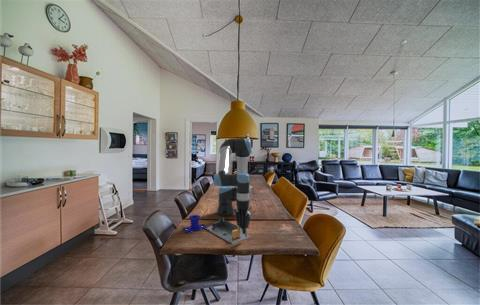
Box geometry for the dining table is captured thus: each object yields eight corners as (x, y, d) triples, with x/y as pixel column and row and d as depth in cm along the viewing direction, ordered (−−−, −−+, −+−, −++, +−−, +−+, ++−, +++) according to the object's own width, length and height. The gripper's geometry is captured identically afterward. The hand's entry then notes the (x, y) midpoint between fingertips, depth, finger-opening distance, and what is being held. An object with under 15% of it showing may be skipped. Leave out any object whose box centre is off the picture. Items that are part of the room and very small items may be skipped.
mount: (202, 225, 153) (202, 213, 152) (206, 229, 146) (206, 216, 146) (182, 229, 145) (182, 217, 145) (185, 233, 138) (185, 220, 138)
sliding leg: (230, 237, 129) (230, 225, 129) (243, 232, 136) (243, 221, 136) (234, 239, 127) (234, 227, 127) (246, 234, 134) (246, 223, 134)
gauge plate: (206, 229, 145) (206, 219, 145) (222, 224, 154) (222, 215, 154) (232, 244, 124) (232, 232, 124) (249, 237, 134) (249, 226, 133)
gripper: (231, 198, 128) (230, 236, 128) (245, 203, 118) (245, 244, 119) (240, 196, 133) (239, 233, 134) (255, 200, 123) (254, 240, 124)
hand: (242, 238), depth 126 cm, fingers closed
